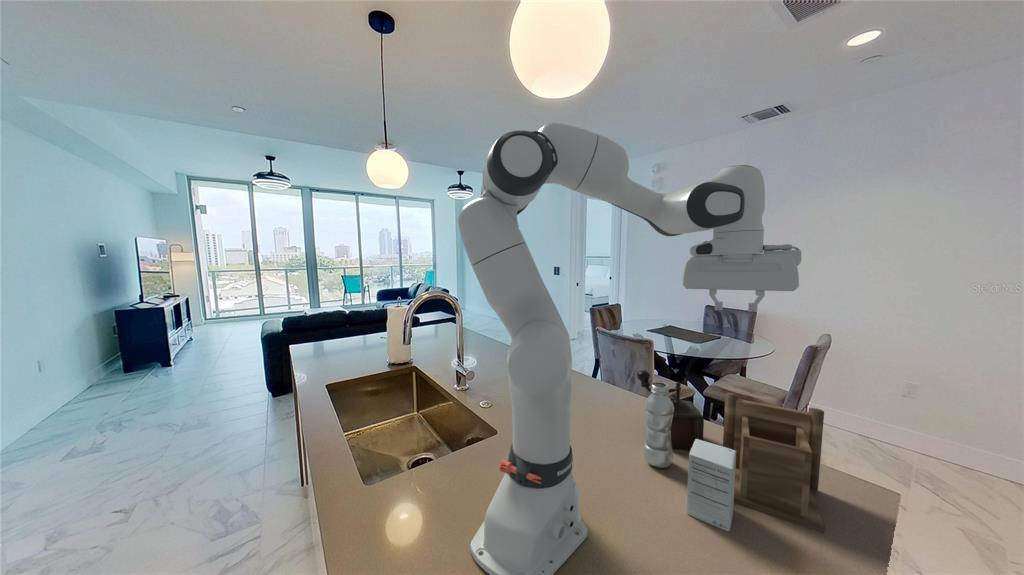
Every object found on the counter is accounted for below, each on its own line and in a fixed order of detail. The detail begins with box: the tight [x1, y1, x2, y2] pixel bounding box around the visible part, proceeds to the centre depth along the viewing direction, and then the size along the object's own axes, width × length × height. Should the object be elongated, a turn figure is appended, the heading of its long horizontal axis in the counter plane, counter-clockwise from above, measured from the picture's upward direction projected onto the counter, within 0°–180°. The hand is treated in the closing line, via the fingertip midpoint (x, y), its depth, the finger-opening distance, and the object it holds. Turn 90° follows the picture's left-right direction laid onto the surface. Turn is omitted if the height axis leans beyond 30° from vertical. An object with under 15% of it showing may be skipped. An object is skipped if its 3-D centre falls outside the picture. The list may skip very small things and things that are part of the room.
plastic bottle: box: [643, 381, 674, 469], centre depth 80 cm, size 6×7×20 cm
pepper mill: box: [636, 369, 705, 451], centre depth 92 cm, size 16×11×18 cm
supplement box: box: [686, 439, 736, 533], centre depth 65 cm, size 7×7×13 cm
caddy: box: [722, 392, 826, 533], centre depth 70 cm, size 14×17×18 cm
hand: (735, 310), depth 71 cm, fingers open, 5 cm apart
